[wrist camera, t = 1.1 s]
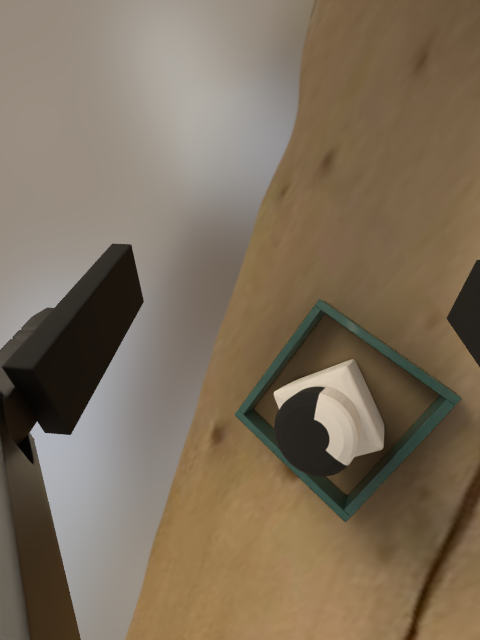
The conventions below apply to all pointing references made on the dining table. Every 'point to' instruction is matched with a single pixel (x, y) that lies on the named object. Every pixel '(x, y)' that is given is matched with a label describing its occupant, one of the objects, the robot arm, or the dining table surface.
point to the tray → (395, 455)
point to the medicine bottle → (327, 420)
